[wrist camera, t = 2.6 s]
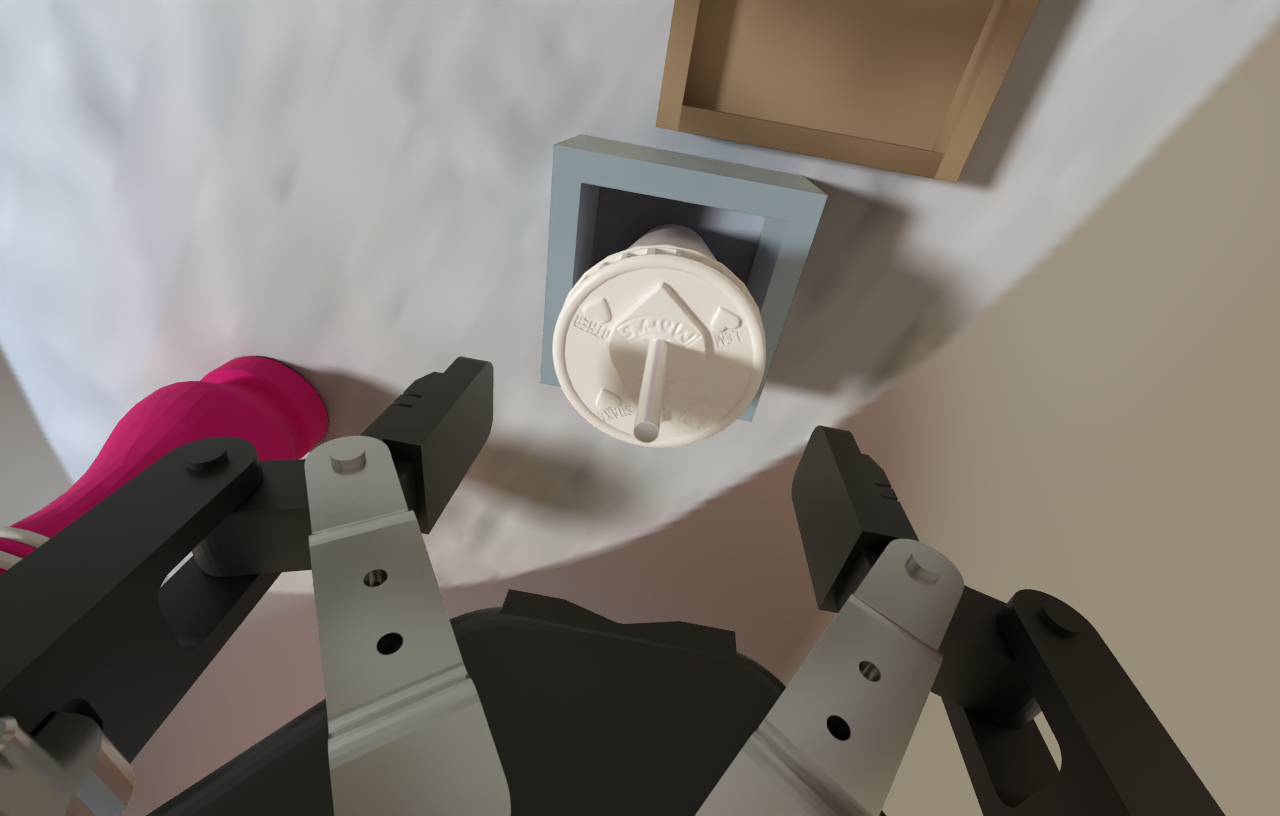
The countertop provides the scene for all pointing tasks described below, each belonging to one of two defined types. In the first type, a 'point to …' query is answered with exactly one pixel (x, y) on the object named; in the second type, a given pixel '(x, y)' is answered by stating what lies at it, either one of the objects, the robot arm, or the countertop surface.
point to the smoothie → (660, 342)
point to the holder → (685, 179)
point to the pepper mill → (185, 437)
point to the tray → (842, 76)
